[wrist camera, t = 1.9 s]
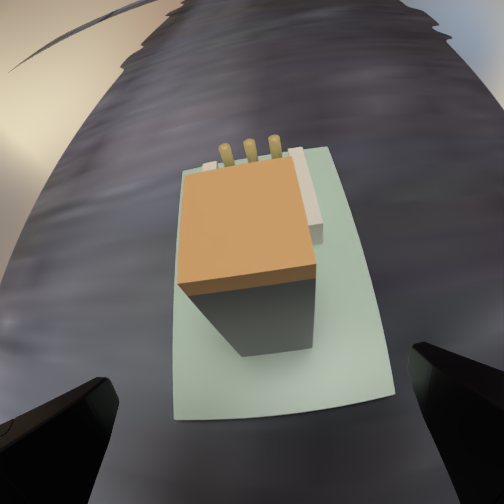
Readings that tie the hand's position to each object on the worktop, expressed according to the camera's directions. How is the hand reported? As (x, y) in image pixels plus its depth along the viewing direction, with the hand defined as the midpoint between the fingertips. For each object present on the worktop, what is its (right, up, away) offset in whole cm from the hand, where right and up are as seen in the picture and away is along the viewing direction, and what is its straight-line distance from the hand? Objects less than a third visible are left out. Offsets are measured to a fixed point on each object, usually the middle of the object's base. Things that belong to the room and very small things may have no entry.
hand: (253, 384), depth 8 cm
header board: (+1, +3, +16) cm, 16 cm away
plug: (+1, -1, +12) cm, 12 cm away
